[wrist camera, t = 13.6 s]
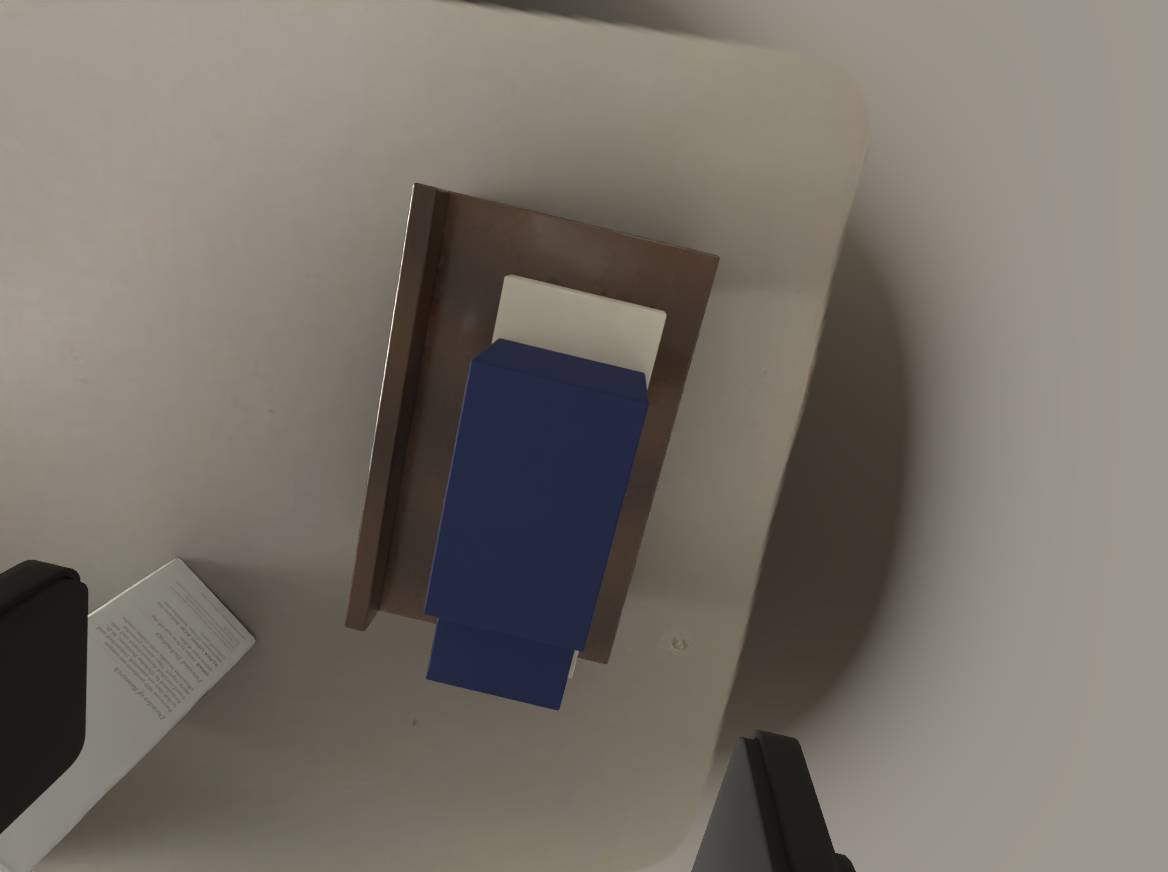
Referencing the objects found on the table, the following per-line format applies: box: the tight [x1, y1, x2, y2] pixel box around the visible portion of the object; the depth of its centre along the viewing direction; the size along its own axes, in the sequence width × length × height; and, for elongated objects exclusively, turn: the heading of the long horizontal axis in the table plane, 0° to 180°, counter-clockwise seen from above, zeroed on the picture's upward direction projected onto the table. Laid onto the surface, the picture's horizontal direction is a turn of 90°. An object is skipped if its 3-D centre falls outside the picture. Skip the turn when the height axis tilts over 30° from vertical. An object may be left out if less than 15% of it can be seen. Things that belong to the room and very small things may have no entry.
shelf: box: [345, 183, 720, 664], centre depth 28 cm, size 16×10×8 cm, turn 167°
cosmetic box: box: [0, 558, 255, 872], centre depth 29 cm, size 8×6×15 cm
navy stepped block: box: [423, 274, 667, 710], centre depth 23 cm, size 14×5×6 cm, turn 167°
